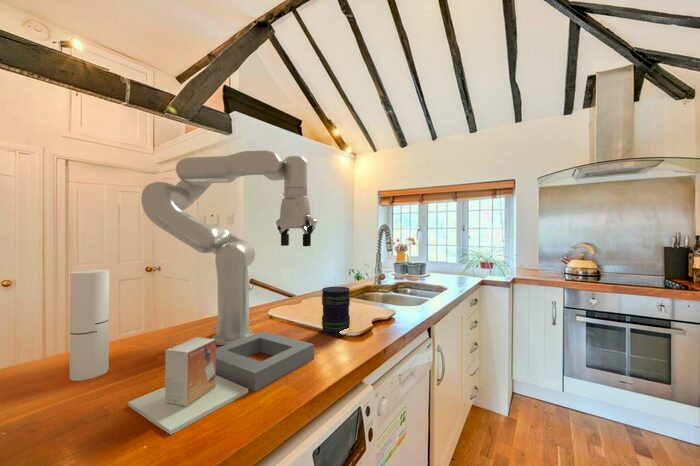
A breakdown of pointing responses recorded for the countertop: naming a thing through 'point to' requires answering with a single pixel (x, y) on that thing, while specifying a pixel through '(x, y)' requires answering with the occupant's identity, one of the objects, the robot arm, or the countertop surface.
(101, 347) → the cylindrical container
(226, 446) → the countertop surface
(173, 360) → the small box
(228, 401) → the sage tile
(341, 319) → the storage jar
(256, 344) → the pocket block
